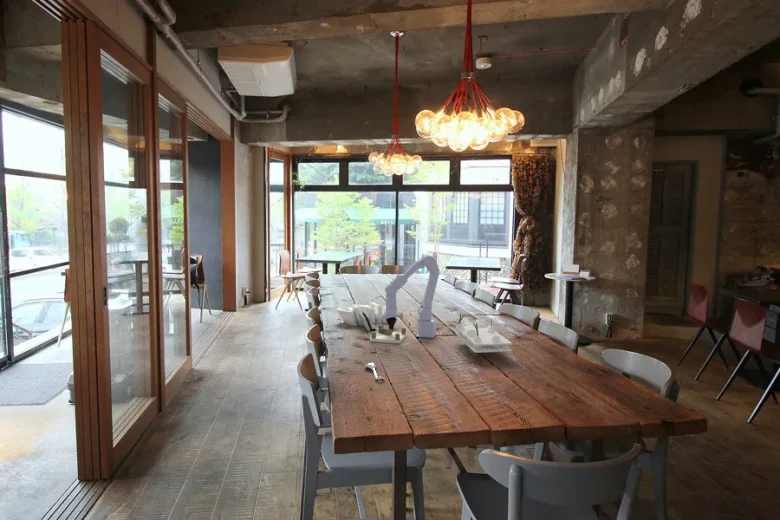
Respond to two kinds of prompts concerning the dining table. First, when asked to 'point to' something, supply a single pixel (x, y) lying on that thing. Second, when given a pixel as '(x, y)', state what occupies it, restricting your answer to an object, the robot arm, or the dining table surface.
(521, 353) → the dining table surface
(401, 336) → the stool seat
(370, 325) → the hinge
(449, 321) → the dining table surface
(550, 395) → the dining table surface
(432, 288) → the robot arm
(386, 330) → the hammer
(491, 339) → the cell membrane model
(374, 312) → the wavy white extrusion
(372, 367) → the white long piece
